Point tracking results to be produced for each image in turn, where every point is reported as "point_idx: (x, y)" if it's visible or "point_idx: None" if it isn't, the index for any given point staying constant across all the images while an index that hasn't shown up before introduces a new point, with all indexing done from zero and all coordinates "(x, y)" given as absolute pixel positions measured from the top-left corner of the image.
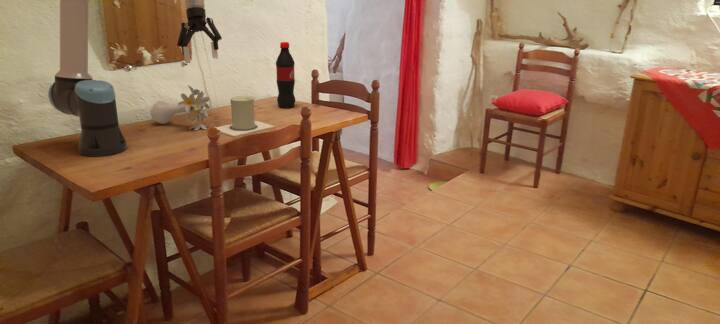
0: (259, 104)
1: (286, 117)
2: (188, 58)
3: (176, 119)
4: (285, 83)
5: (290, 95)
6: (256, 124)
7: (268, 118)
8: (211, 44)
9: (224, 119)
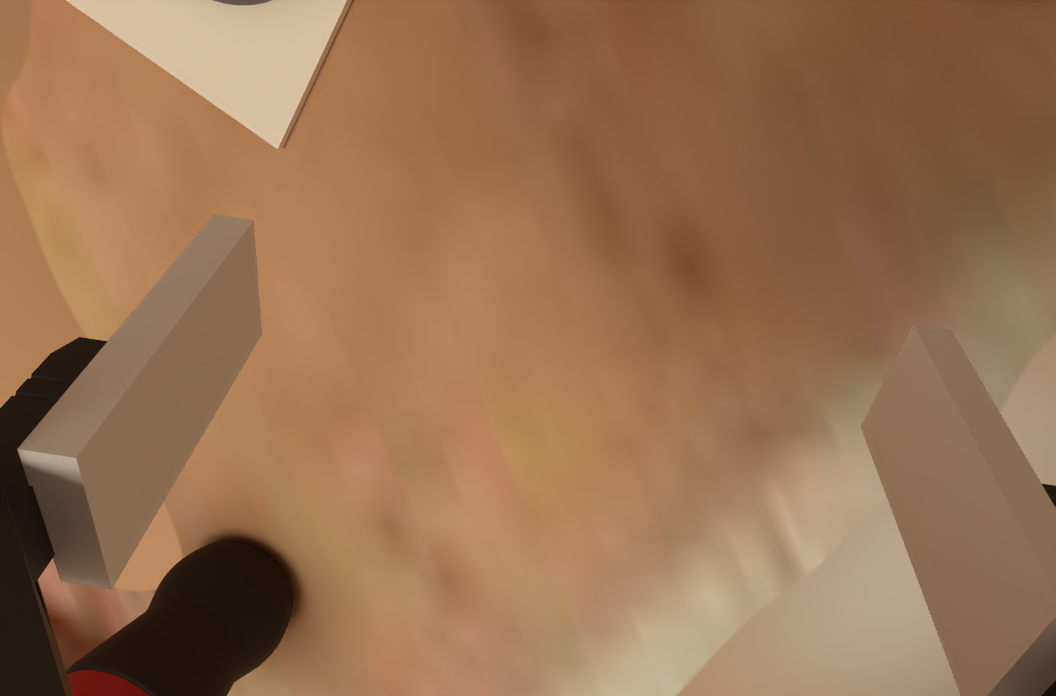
0: (444, 639)
1: (120, 298)
2: (905, 447)
3: (952, 71)
4: (101, 653)
5: (150, 605)
6: (182, 2)
7: None
8: (103, 402)
9: (509, 159)
